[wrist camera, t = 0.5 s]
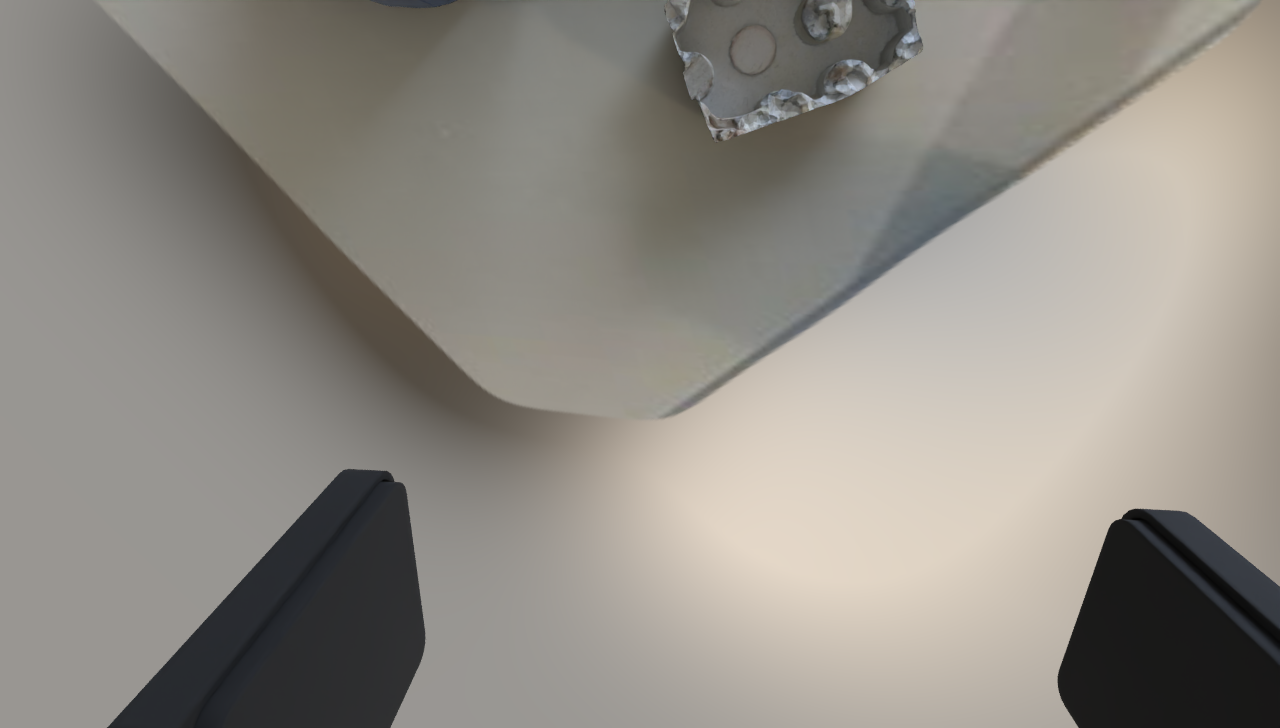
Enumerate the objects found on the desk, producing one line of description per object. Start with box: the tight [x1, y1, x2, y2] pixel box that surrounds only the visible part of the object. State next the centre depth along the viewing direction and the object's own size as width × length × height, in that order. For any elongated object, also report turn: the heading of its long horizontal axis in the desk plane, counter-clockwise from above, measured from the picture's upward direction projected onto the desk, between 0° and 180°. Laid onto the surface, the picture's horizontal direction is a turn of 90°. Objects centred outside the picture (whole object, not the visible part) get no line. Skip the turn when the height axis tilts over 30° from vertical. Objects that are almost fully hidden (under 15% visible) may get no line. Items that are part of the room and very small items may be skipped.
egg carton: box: [664, 0, 923, 143], centre depth 31 cm, size 11×8×4 cm
